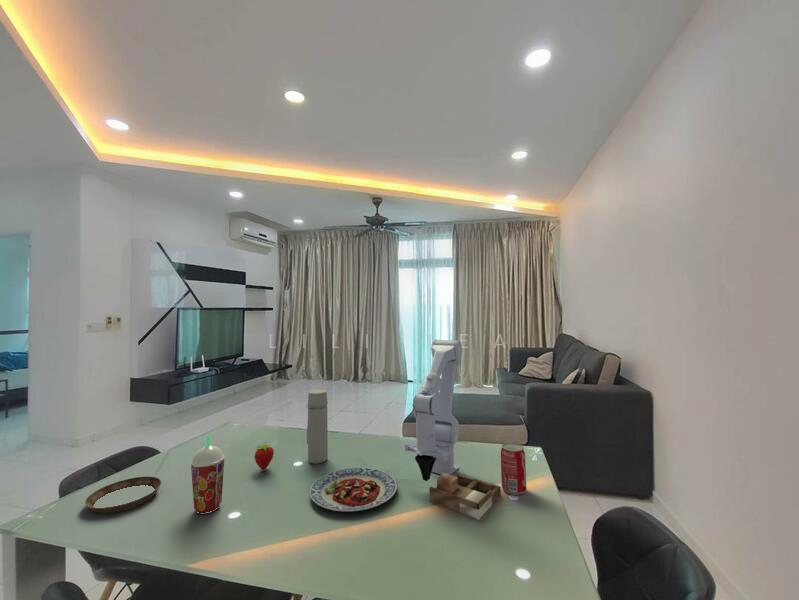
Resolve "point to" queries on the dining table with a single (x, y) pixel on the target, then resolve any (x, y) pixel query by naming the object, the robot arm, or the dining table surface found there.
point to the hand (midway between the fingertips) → (426, 479)
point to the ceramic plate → (353, 489)
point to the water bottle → (317, 426)
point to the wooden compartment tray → (467, 496)
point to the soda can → (513, 469)
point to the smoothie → (207, 478)
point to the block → (447, 483)
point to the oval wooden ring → (120, 485)
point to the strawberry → (264, 456)
